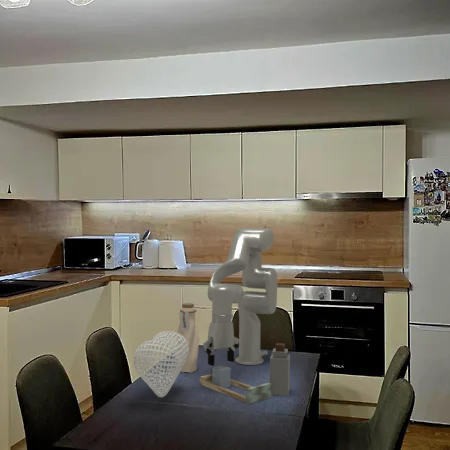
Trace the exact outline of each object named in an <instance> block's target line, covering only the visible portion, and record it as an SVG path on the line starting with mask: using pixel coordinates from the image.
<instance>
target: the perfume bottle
mask: <svg viewBox="0 0 450 450" xmlns="http://www.w3.org/2000/svg"><path fill="white" fill-rule="evenodd" d="M274 345H275V348H273V349H272V352H271V355H270V357H269V383H271V396H273V395H274V396H283V397H284V396H285V397H289V394H290V383H291V382H290V381H291V379H290V377H291V376H290V374H291V372H290V371H291V355H290V354H288V352H289V351H288V350H289V349H288V348H285V346H286V343H284V342H283V343H281V342H276V343H275V344H274Z"/></svg>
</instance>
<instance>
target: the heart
mask: <svg viewBox="0 0 450 450" xmlns="http://www.w3.org/2000/svg"><path fill="white" fill-rule="evenodd" d="M178 337H179V339H178ZM181 338H182V339H181ZM183 340H184V341H183ZM178 341H179V342H180V344H179V343H178ZM181 341H182V343H181ZM186 342H187V340H186V339H185V338H184V337H183V336H182V335H181V334H179V333H178V332H176V331H172V330H165V331H161V332H159V333H156V334H155V335H154V336H153V337H152V338H151V339H149V340H145V342H142V343H141V344H140V345H139V346H138V347H137V348H136V349H135V352H134V354H133V364H134V369H135V370H136V373H137V374H138V375H139V377H140V378H141V379H142V380H143V381H144V382H145V383H146V384H147V386H148V387H149V388H150V389H151V391H153V393H154V394H155V395H156V396H157V397H158V398H165V396H167V394H168V393H169V392H170V390H171V388H172V387H173V385H174V383H175V382H176V380H177V378H178V376H179V375H180V373H181V372H180V371H181V370H182V368H183V366H184V364H185V363H186V360H187V358H188V355H189V344H188V342H187V343H186ZM183 343H184V346H183ZM181 346H182V348H181ZM186 346H187V348H186ZM179 347H180V349H181V350H180V349H179ZM184 348H185V349H186V351H185V349H184ZM183 349H184V351H183ZM187 351H188V353H187ZM169 352H170V353H169ZM181 352H182V354H181ZM183 352H184V353H183ZM180 354H181V356H180ZM184 356H185V357H184ZM171 357H172V358H171ZM182 357H183V359H182ZM185 359H186V360H185ZM167 362H168V363H167ZM170 362H171V363H170ZM180 366H181V367H180Z"/></svg>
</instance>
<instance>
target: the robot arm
mask: <svg viewBox="0 0 450 450" xmlns="http://www.w3.org/2000/svg"><path fill="white" fill-rule="evenodd" d="M274 240H275V234H274V231H273V230H272V229H270V228H265V227H263V228H262V227H261V228H260V227H258V228H257V227H242V228H238V229H236V231H235V234H234V235H233V238H232V240H231V244H230V248H229V252H228V254H227V259H226V261H225V262H223V263H222V264H221V265H219V266H218V268H216V269H215V270H214V272H213V273H212V275H211V277H210V280H209V284H208V286H207V287H208V288H207V298H208V299H209V301H211V302H212V308H211V309H212V310H211V322H210V323H209V326H208V332H207V340H206V341H205V342H203V343H202V346H203V347H202V348H203V349H204V352H205V353H206V354H207V364H208V366H212V367H215V364H216V362H215V359H216V357H215V352H216V351H218V350H223V349H228V350H227V355H226V357H227V361H228V362H229V363H236V364H240V365H242V366H243V365H245V366H257V365H261V364H263V363H264V358H263V356H267V355H268V350H261V328H262V327H261V325H262V324H261V320H260V318H259V316H258V315H257V314H261V315H264V314H265V315H272V314H274V313H275V312H276V310H277V302H278V273H277V271H276V269H274V268H271V267H262V264H263V263H262V261H263V257H262V254H261V253H264V252H265V251H267V250H269V249H270V248H271V247H272V246H273V244H274V243H275V241H274ZM239 272H241V274H242V275H241V282H242V285H243V287H245V288H248V289H258V290H259V289H260V290H264V291H253V290H252V291H251V290H250V291H249V290H246V291H244V288H243V287H242V286H241V285H239V284H234V283H233V284H231V283H221V282H223V280H224V279H226V278H227V277H230V276H232V275H234V274H236V273H237V274H238V273H239ZM233 304H235V305H236V304H237V308H238V317H239V318H238V320H239V322H238V326H239V328H238V329H239V330H238V331H239V332H238V333H239V335H238V337H239V338H238V337H236V336H235V331H234V322H233V321H232V320H233V318H234V315H233V307H232V306H233ZM237 347H238V357H236V358H235V352H236V349H237Z"/></svg>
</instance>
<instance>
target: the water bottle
mask: <svg viewBox="0 0 450 450" xmlns="http://www.w3.org/2000/svg"><path fill="white" fill-rule="evenodd" d="M181 305H182V307H181V309H180V310H179V313H178V314H179V324H178V327H177V333H179V334H181V335H182V336H183V337H184V338H185V339H186V340H187V342H188V344H189V355H188V358H187V360H186V359H185V360H186V363H185V364H184V366H183V368H182V370H181V371H180V373H184V372H189V374H190V373H194V371H195V372H196V371H197V361H198V356H199V350H200V349H199V343H200V339H199V338H200V337H199V331H198V328H197V325H196V313H197V309H196V308H195V304H194V303H191V302H189V303H188V302H186V303H182V304H181ZM177 338H178V339H179V337H178V336H177ZM181 339H182V338H181ZM183 341H184V340H183ZM187 342H186V343H187ZM178 343H179V344H180V342H179V341H178ZM181 343H182V341H181ZM183 346H184V343H183ZM181 348H182V346H181ZM186 348H187V346H186ZM179 349H180V347H179ZM179 349H178V350H179ZM184 349H185V348H184ZM184 349H183V351H184ZM180 350H181V349H180ZM185 351H186V349H185ZM183 353H184V352H183ZM187 353H188V351H187ZM181 354H182V352H181ZM181 354H180V356H181ZM184 357H185V356H184ZM182 359H183V357H182ZM180 367H181V366H180Z"/></svg>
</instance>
